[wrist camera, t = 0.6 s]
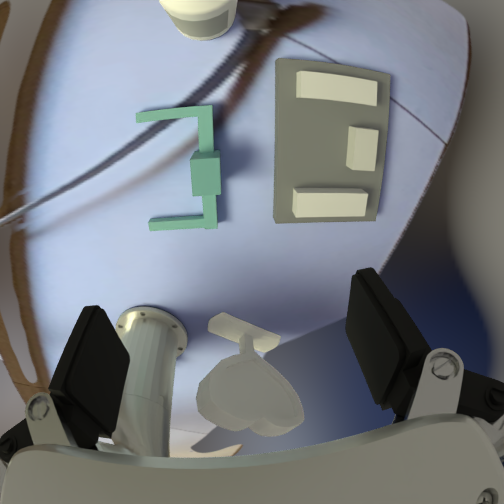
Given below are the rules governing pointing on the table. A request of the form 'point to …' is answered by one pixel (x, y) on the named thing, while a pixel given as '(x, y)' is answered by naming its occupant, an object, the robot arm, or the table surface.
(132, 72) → the table surface
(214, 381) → the heart sculpture
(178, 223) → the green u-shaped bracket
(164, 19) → the table surface
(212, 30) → the white bottle
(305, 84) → the stand
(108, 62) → the table surface
